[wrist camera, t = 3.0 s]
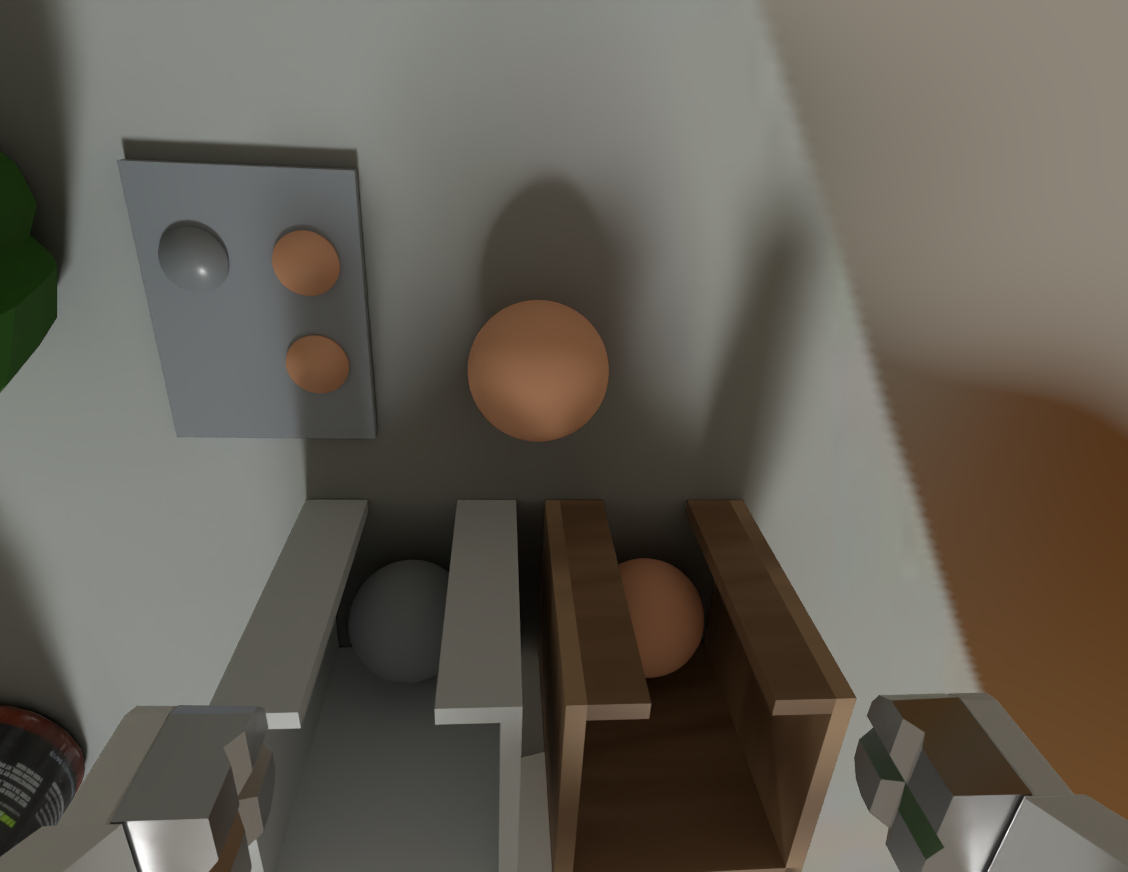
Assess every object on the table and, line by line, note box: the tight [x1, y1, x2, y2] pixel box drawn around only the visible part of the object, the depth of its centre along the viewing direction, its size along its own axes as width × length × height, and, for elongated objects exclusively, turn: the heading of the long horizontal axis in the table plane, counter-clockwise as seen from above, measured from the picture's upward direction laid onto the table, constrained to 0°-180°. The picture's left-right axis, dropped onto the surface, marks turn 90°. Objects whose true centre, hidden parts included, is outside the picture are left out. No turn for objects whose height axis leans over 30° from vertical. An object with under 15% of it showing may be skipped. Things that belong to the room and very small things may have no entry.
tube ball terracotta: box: [618, 558, 704, 678], centre depth 24 cm, size 4×4×4 cm
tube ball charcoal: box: [348, 560, 449, 683], centre depth 24 cm, size 4×4×4 cm
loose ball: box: [468, 300, 609, 442], centre depth 20 cm, size 4×4×4 cm
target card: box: [117, 159, 377, 439], centre depth 20 cm, size 8×6×1 cm
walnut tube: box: [538, 500, 857, 872], centre depth 22 cm, size 7×7×9 cm
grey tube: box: [209, 500, 523, 872], centre depth 21 cm, size 7×7×9 cm
